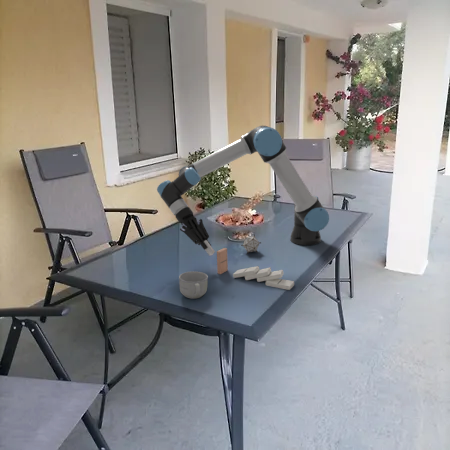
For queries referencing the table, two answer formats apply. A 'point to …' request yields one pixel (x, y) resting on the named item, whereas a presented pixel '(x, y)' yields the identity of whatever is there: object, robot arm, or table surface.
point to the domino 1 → (222, 261)
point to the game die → (251, 244)
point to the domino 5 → (280, 283)
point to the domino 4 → (271, 276)
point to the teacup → (193, 284)
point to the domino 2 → (246, 272)
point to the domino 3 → (259, 274)
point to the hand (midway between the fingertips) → (212, 253)
